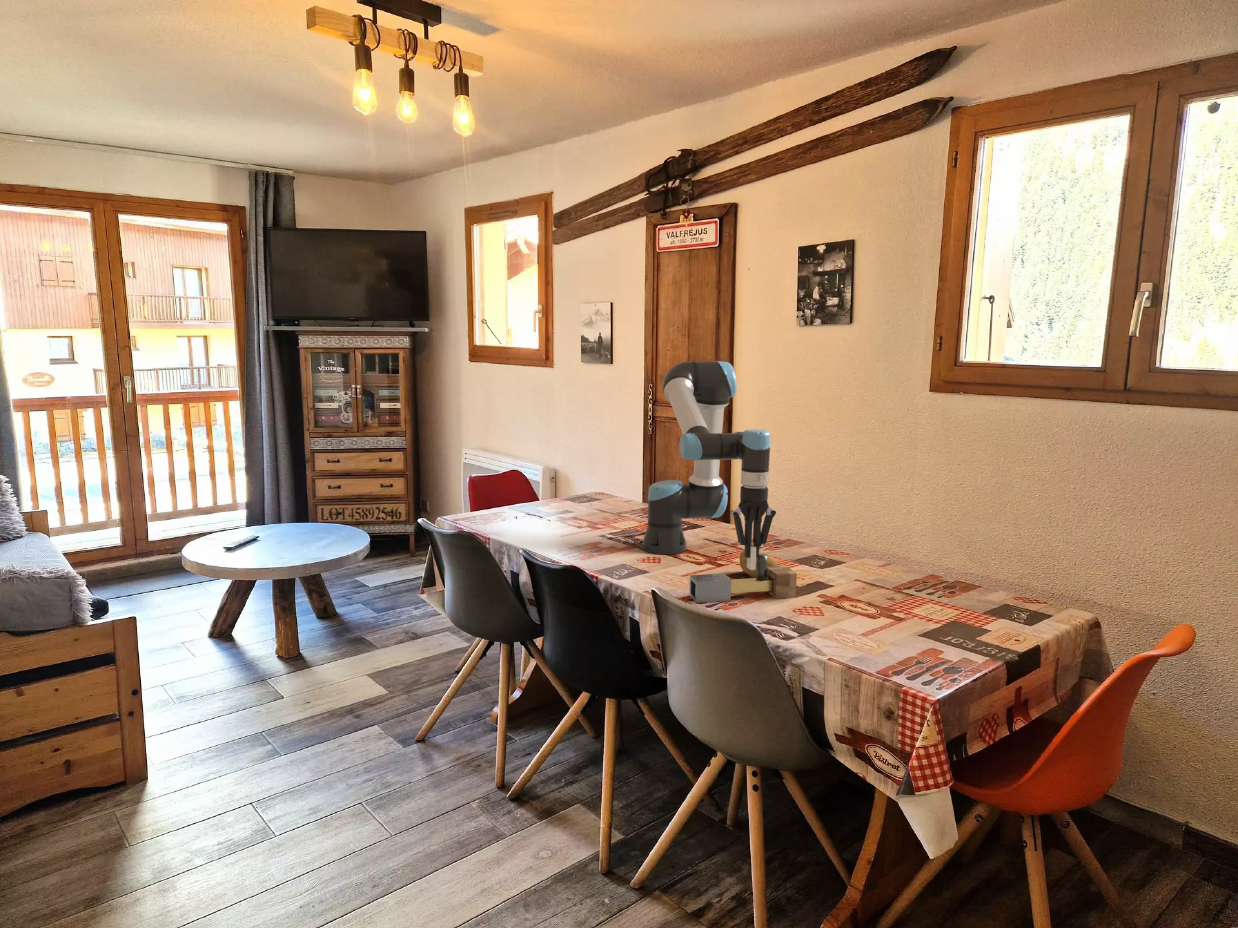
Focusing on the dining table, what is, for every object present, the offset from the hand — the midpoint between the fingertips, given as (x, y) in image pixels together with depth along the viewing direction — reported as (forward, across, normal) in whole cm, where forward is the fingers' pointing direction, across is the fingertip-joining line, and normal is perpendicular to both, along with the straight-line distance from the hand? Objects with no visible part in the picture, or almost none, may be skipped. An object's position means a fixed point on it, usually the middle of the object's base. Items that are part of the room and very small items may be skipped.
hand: (751, 568), depth 217 cm
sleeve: (+8, -12, 0) cm, 14 cm away
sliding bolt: (+6, 0, 0) cm, 6 cm away
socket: (+8, +9, 0) cm, 12 cm away
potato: (+8, +9, +15) cm, 19 cm away
